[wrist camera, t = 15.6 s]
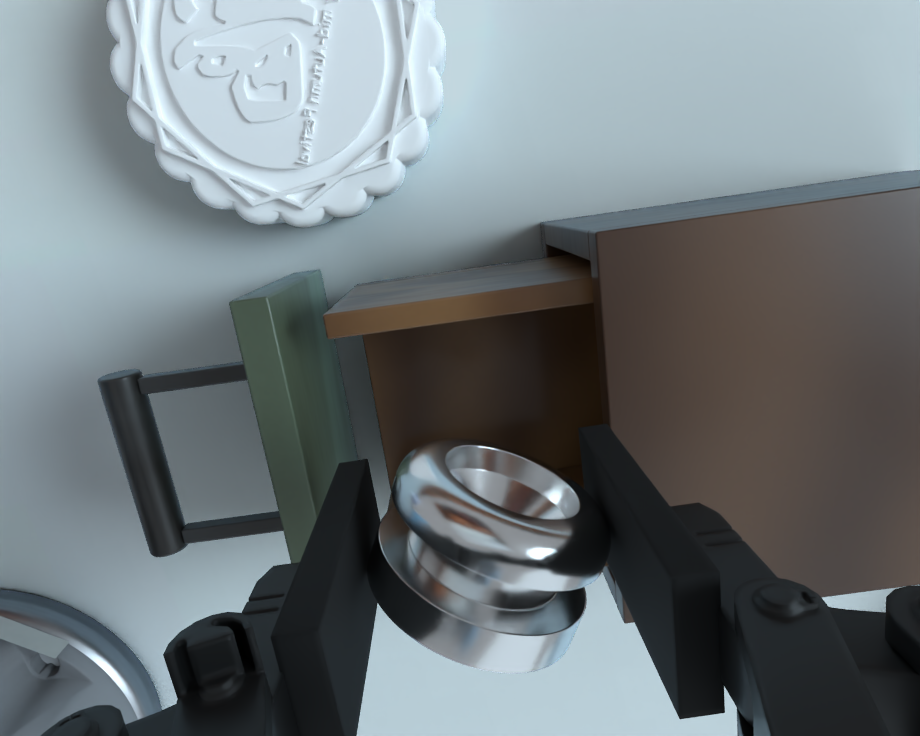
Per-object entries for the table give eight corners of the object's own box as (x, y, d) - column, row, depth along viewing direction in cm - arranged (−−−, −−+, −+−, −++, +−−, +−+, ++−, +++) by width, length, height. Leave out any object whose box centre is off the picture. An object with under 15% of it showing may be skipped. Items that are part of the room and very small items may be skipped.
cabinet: (566, 489, 29) (624, 624, 20) (540, 222, 26) (594, 231, 16) (888, 445, 29) (1102, 560, 20) (904, 171, 26) (1172, 150, 16)
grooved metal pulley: (377, 509, 16) (352, 639, 11) (409, 410, 15) (397, 502, 11) (550, 556, 17) (596, 698, 12) (588, 463, 16) (654, 574, 11)
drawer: (214, 534, 28) (130, 655, 21) (148, 293, 25) (20, 330, 18) (650, 475, 28) (727, 576, 20) (636, 224, 25) (720, 232, 17)
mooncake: (160, -141, 22) (107, -206, 19) (476, -54, 23) (481, -100, 20) (132, 189, 25) (82, 186, 22) (412, 253, 26) (407, 261, 23)
